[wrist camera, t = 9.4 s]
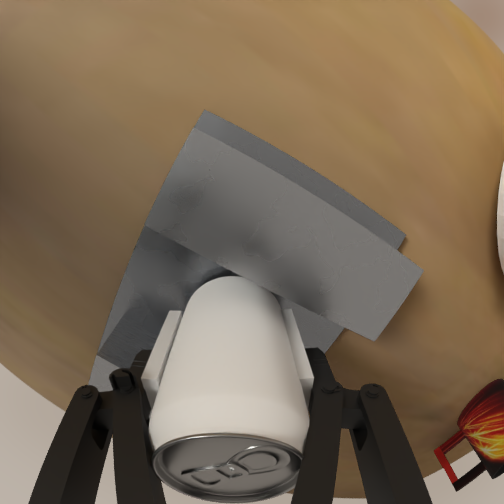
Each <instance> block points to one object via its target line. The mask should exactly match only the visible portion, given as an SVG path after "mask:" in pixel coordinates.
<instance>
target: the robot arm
mask: <svg viewBox="0 0 504 504" xmlns="http://www.w3.org/2000/svg"><path fill="white" fill-rule="evenodd" d="M281 312H282V316H283V320H284V323H285V327H286V331H287V335H288V339H289V342H290V346H291V350H292V354H293V358H294V362H295V366H296V370H297V374H298V378H299V380H300V383H301V386H302V390H303V394H304V398H305V402H306V406H307V410H308V411H309V414H310V422H309V428H308V433H307V438H306V442H305V447H304V452H303V455H304V456H305V458H303V459H302V461H301V465H300V469H299V473H298V477H297V481H296V485H295V489H294V493H293V497H292V501H291V504H332V501H333V494H334V487H335V480H336V472H337V464H338V455H339V445H340V433H341V428H345V429H349V431H350V435H351V439H352V442H353V446H354V450H355V454H356V458H357V462H358V466H359V470H360V474H361V478H362V482H363V486H364V490H365V494H366V499H367V503H368V504H432V501H431V498H430V496H429V493H428V490H427V488H426V485H425V482H424V480H423V477H422V474H421V472H420V469H419V467H418V464H417V462H416V459H415V457H414V454H413V452H412V449H411V447H410V445H409V442H408V440H407V438H406V435H405V433H404V431H403V428H402V426H401V424H400V421H399V419H398V417H397V415H396V412H395V410H394V408H393V406H392V403H391V401H390V399H389V397H388V395H387V392H386V390H385V389H384V388H383V387H382V386H380V385H377V384H366V385H364V386H362V387H361V389H360V391H358V390H349V389H345V388H343V387H342V385H341V384H340V383H338V382H336V381H335V379H334V376H333V374H332V371H331V369H330V366H329V364H328V361H327V360H326V357H325V354H324V352H323V351H322V350H320V349H319V348H318V347H316V348H304V345H303V342H302V339H301V336H300V333H299V330H298V327H297V324H296V321H295V318H294V315H293V312H292V309H281ZM181 320H182V313H181V311H169V313H168V315H167V317H166V320H165V322H164V324H163V327H162V329H161V331H160V333H159V336H158V338H157V340H156V343H155V345H154V348H153V350H143V349H142V350H141V351H140V352H139V353H138V354H136V356H135V358H134V362H133V363H132V365H131V367H130V369H128V368H120V369H116V370H114V371H113V372H112V373H111V374H110V375H109V380H110V383H111V386H112V388H113V390H111V391H104V392H99V391H98V389H97V388H96V387H95V386H92V385H85V386H81V387H80V388H78V389H77V391H76V392H75V394H74V396H73V398H72V400H71V402H70V404H69V406H68V408H67V410H66V412H65V415H64V417H63V419H62V421H61V423H60V425H59V427H58V430H57V432H56V434H55V437H54V439H53V441H52V443H51V446H50V448H49V450H48V453H47V455H46V458H45V460H44V463H43V465H42V468H41V471H40V473H39V476H38V478H37V481H36V483H35V486H34V489H33V492H32V495H31V498H30V501H29V504H95V499H96V495H97V490H98V487H99V483H100V478H101V474H102V470H103V467H104V463H105V459H106V455H107V452H108V448H109V444H110V441H111V437H112V434H113V452H114V471H115V485H116V494H117V503H118V504H166V501H165V497H164V492H163V488H162V483H161V480H160V479H159V478H158V477H157V476H156V474H155V472H154V470H153V468H152V466H151V458H152V455H153V453H154V451H153V448H152V445H151V442H150V438H149V422H150V418H149V415H150V412H152V410H153V406H154V403H155V399H156V396H157V393H158V389H159V386H160V383H161V380H162V377H163V373H164V370H165V367H166V364H167V361H168V358H169V355H170V352H171V349H172V346H173V343H174V340H175V337H176V334H177V331H178V328H179V325H180V323H181Z"/></svg>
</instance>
